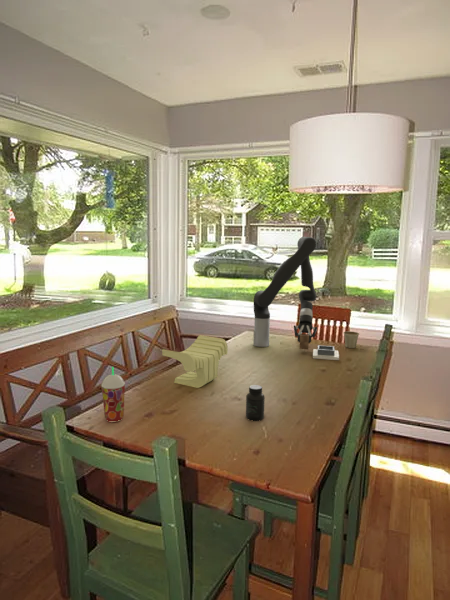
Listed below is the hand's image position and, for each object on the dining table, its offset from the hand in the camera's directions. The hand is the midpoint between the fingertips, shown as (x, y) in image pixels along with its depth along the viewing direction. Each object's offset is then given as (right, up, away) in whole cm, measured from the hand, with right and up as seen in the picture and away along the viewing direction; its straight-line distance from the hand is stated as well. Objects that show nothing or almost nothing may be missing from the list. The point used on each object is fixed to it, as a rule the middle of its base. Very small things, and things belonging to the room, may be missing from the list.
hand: (304, 342), depth 247 cm
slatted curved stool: (-59, -14, -48) cm, 77 cm away
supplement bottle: (-34, -20, -86) cm, 95 cm away
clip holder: (+11, -7, -5) cm, 14 cm away
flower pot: (+31, -5, +15) cm, 34 cm away
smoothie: (-86, -20, -89) cm, 125 cm away
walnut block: (0, -4, +2) cm, 5 cm away
